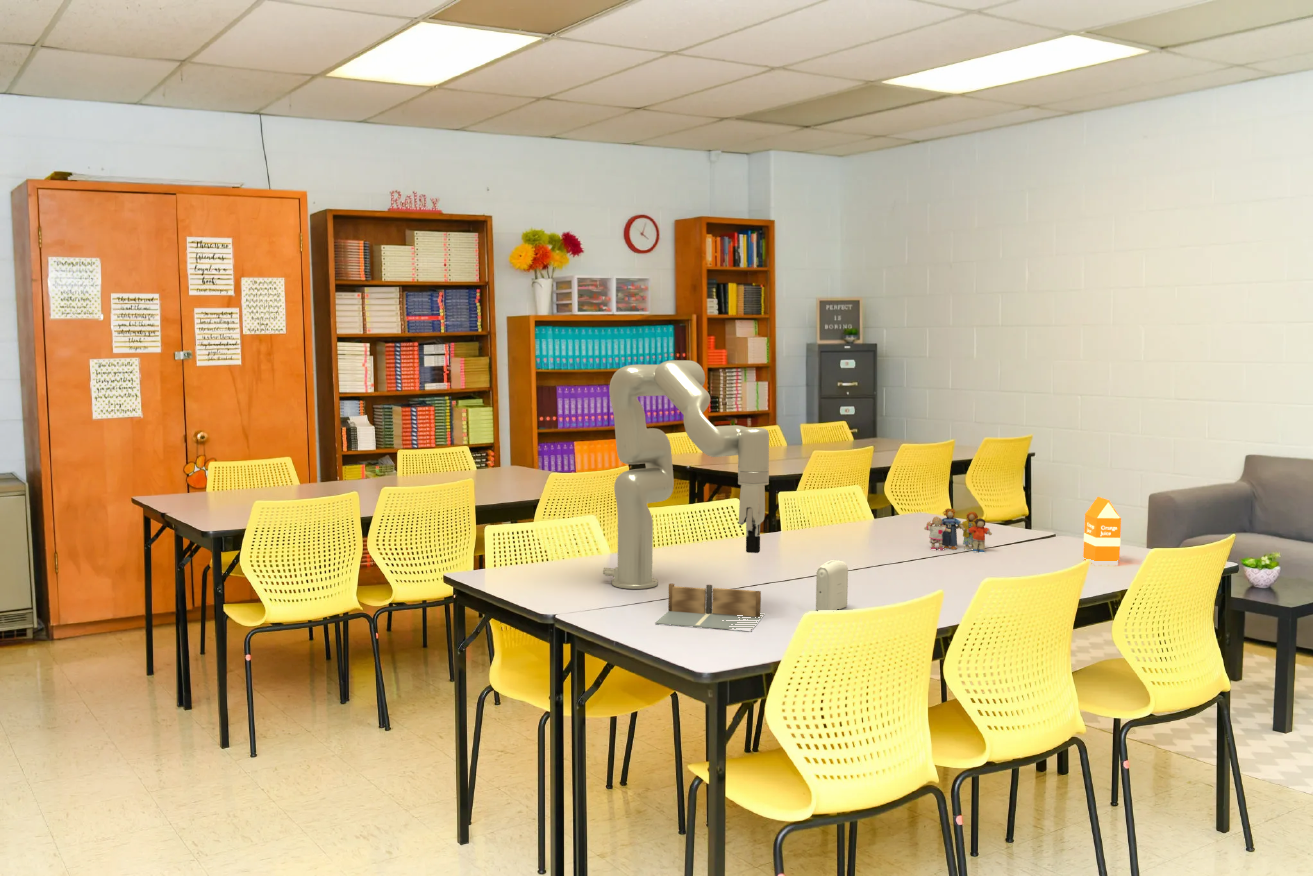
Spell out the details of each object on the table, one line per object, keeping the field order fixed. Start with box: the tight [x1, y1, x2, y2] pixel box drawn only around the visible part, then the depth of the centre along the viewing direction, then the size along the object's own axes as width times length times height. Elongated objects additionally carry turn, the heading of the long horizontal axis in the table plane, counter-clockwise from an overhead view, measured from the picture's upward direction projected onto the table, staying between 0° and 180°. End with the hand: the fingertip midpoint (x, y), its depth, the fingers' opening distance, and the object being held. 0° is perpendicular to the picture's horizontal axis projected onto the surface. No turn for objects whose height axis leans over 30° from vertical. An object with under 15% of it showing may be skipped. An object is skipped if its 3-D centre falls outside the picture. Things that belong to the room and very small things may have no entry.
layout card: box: [654, 608, 765, 630], centre depth 270 cm, size 23×18×1 cm
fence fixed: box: [667, 583, 713, 614], centre depth 275 cm, size 11×1×7 cm, turn 74°
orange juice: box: [1082, 496, 1122, 561], centre depth 345 cm, size 8×9×20 cm
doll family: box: [923, 508, 993, 553], centre depth 367 cm, size 21×10×13 cm, turn 77°
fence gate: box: [712, 587, 762, 617], centre depth 272 cm, size 12×1×6 cm, turn 74°
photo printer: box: [815, 559, 849, 611], centre depth 281 cm, size 10×4×12 cm, turn 140°
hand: (753, 552), depth 277 cm, fingers closed
